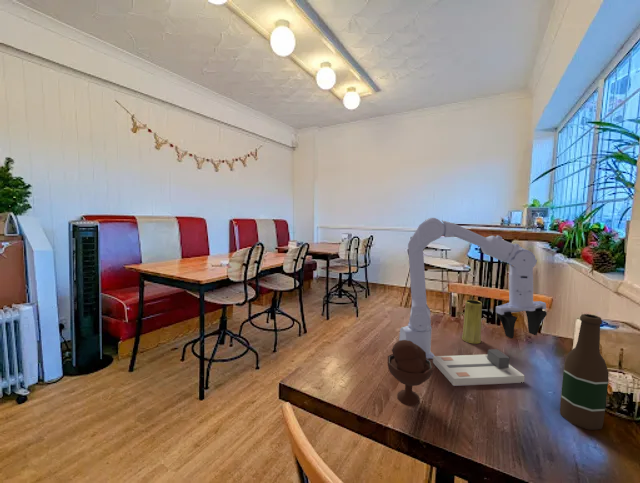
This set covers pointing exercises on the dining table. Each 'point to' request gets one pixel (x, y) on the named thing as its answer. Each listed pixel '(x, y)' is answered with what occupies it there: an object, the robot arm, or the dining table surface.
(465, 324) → the vase
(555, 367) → the dining table surface
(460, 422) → the dining table surface
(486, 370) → the fader panel
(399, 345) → the ice cream bowl
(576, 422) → the beer bottle
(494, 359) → the fader knob
